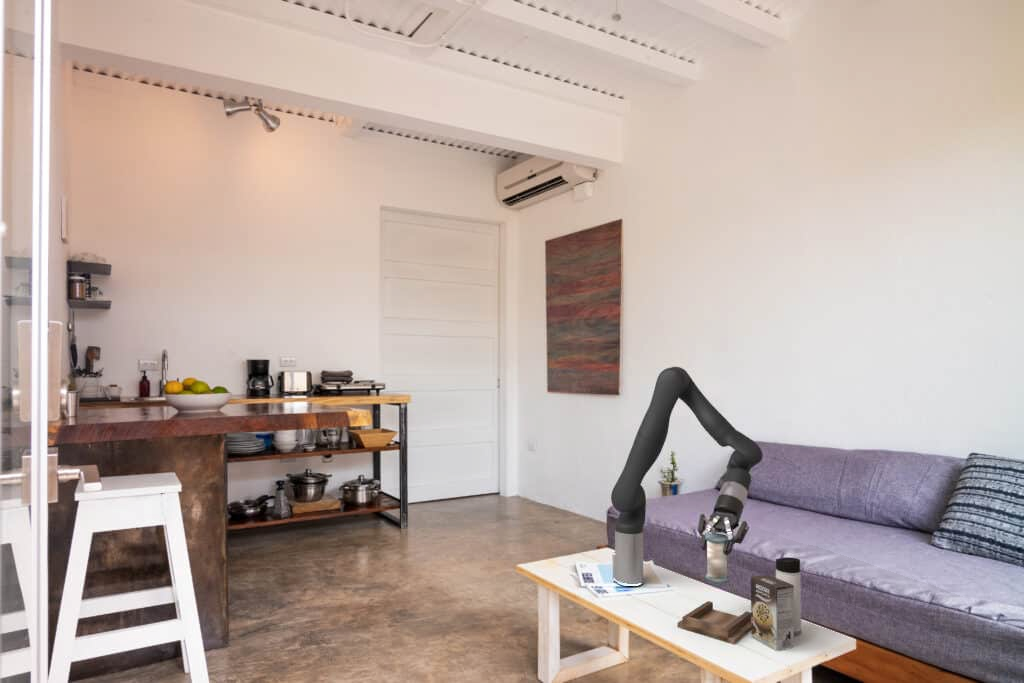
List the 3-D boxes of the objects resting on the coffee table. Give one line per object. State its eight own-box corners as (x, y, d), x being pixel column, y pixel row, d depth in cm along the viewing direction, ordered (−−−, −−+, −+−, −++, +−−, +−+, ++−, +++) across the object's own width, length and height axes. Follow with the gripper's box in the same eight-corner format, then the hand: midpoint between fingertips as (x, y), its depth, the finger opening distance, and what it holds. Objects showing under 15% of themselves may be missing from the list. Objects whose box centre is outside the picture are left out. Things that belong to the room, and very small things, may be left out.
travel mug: (791, 638, 170) (790, 562, 170) (771, 629, 176) (770, 555, 176) (807, 633, 173) (806, 559, 173) (787, 624, 179) (786, 552, 179)
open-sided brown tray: (677, 627, 177) (677, 615, 177) (703, 610, 189) (703, 599, 189) (733, 644, 166) (733, 631, 166) (757, 625, 178) (757, 614, 178)
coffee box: (750, 637, 170) (749, 576, 171) (768, 633, 173) (767, 573, 173) (776, 651, 162) (775, 587, 163) (795, 647, 164) (794, 584, 165)
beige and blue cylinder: (702, 580, 178) (701, 536, 178) (711, 574, 182) (710, 532, 183) (723, 584, 174) (722, 540, 174) (732, 579, 178) (731, 536, 179)
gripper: (703, 490, 189) (685, 539, 180) (751, 496, 179) (735, 548, 170) (711, 505, 193) (694, 553, 184) (759, 512, 183) (743, 564, 174)
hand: (714, 551), depth 177 cm, fingers closed on beige and blue cylinder, 6 cm apart
